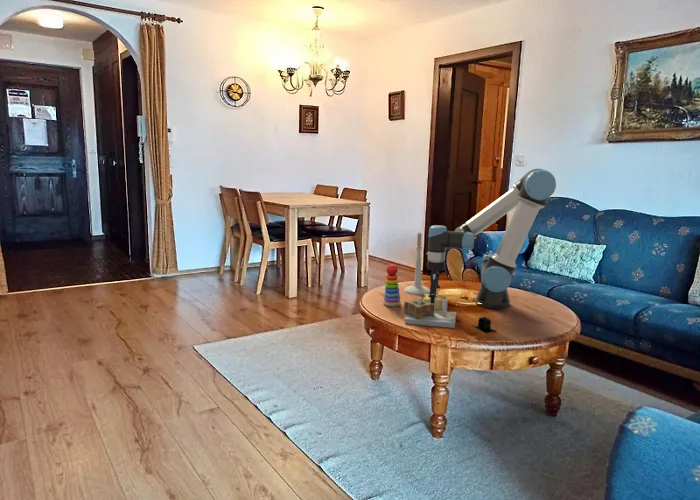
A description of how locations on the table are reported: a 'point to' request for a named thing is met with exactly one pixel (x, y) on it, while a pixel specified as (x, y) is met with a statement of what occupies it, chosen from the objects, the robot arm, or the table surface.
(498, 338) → the table surface
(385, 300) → the stacking toy
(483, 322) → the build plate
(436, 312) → the board
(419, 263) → the candlestick
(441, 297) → the ochre cog
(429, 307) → the walnut cog
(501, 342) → the table surface
